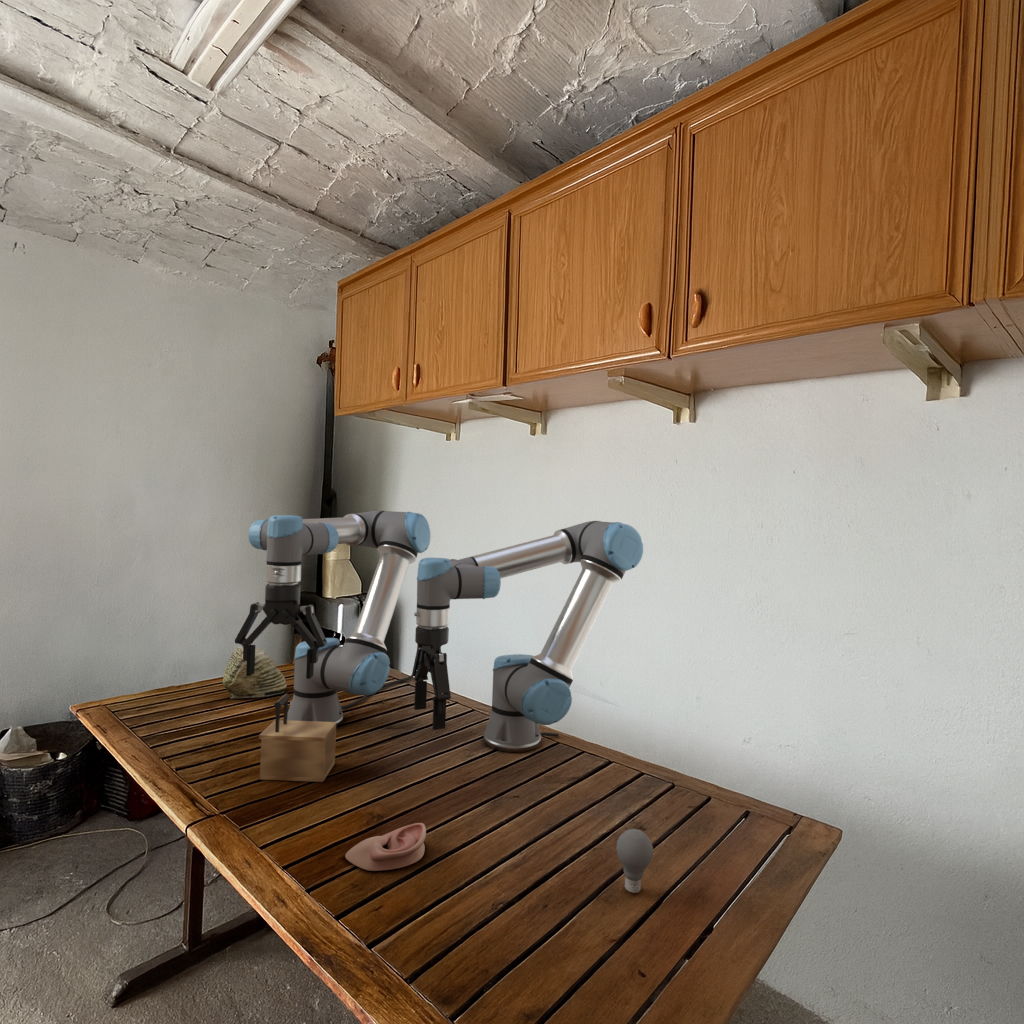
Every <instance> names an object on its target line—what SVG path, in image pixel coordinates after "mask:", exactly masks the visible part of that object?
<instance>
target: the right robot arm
mask: <svg viewBox="0 0 1024 1024" xmlns="http://www.w3.org/2000/svg"><path fill="white" fill-rule="evenodd" d="M643 554H644V543H643V541H642V536H641V535H640V533H639V532H638V530H637V529H636V528H634V527H633V526H632V525H630V524H626V523H623V522H620V521H614V522H612V521H602V520H589V521H585V522H581V523H578V524H574V525H571V526H567V527H564V528H561V529H558V530H557V529H556V530H555V532H553V534H552V535H549V536H548V535H547V536H544V537H541V538H537V539H533V540H529V541H525V542H521V543H518V544H514V545H510V546H507V547H503V548H499V549H498V548H497V549H495V550H491V551H487V552H482V553H479V554H476V555H472V556H466V557H463V558H460V559H455V558H451V559H450V558H445V557H424V558H421V559H420V560H419V561H418V564H417V565H418V566H417V577H416V611H414V613H413V615H414V617H415V619H416V620H415V624H416V627H415V637H414V642H415V644H417V645H416V652H415V658H414V662H413V668H412V673H411V675H413V680H414V703H413V709H414V710H415V711H419V710H420V711H421V710H426V709H427V695H428V694H427V693H428V680H429V676H428V675H429V673H430V678H431V682H432V683H431V684H432V688H433V693H434V696H433V697H432V698H431V700H432V703H433V704H432V727H431V728H432V730H433V731H436V730H443V729H444V730H445V729H446V723H447V722H446V718H447V700H451V698H452V696H451V688H450V679H449V671H448V655H447V653H446V652H443V651H442V646H445V645H447V644H448V643H449V637H450V636H449V634H450V629H449V627H448V626H449V625H450V618H451V617H450V616H451V614H450V613H451V608H450V607H451V600H477V599H479V600H480V599H481V600H485V599H493V598H496V597H497V596H498V595H499V594H500V590H501V586H502V585H501V583H502V580H501V579H503V578H504V579H505V578H508V577H512V576H516V575H518V574H519V575H520V574H522V573H526V572H530V571H534V570H538V569H540V568H545V567H548V566H551V565H555V564H559V563H561V564H562V565H569V564H573V563H580V566H581V571H580V573H579V575H578V577H577V579H576V581H575V583H574V585H573V587H572V589H571V591H570V593H569V595H568V598H567V599H566V601H565V603H564V605H563V607H562V609H561V611H560V614H559V615H558V617H557V619H556V621H555V622H554V623H555V624H554V625H553V628H552V629H551V631H550V634H549V635H548V637H547V640H546V641H545V643H544V646H543V647H542V649H541V651H540V653H539V654H537V655H531V654H524V653H523V654H519V653H516V654H503V655H499V656H497V657H495V658H494V661H493V668H492V696H491V697H492V698H491V713H490V715H489V718H488V721H487V724H486V726H485V729H484V732H483V742H484V744H485V745H486V746H487V747H488V748H491V749H493V750H496V751H499V752H500V751H501V752H506V753H525V752H530V751H533V750H535V749H537V748H539V747H540V746H541V744H542V737H543V736H544V737H556V738H558V737H559V733H558V732H557V733H556V732H544V731H541V730H540V726H550V725H553V724H555V723H558V722H560V721H561V720H563V719H564V717H566V715H567V714H568V712H569V711H570V709H571V706H572V702H573V697H572V691H571V688H570V687H571V685H572V684H573V681H574V676H573V672H572V669H573V667H574V665H575V663H576V661H577V660H578V657H579V655H580V653H581V651H582V648H583V647H584V645H585V642H586V640H587V638H588V636H589V634H590V632H591V630H592V628H593V626H594V624H595V621H596V620H597V617H598V616H599V613H600V611H601V609H602V607H603V605H604V603H605V601H606V599H607V597H608V595H609V593H610V591H611V588H612V586H613V585H615V584H617V583H621V582H622V580H623V578H624V575H625V574H626V572H627V571H630V570H632V569H634V568H636V567H637V566H638V565H639V564H640V562H641V560H642V559H643V556H644V555H643Z"/></svg>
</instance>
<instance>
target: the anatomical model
mask: <svg viewBox="0 0 1024 1024" xmlns="http://www.w3.org/2000/svg"><path fill="white" fill-rule="evenodd" d="M426 837H427V827H426V824H425V823H423V822H415V823H412V824H408V825H404V826H402V827H399V828H396V829H394V830H392V831H390V832H388V833H384V834H382V835H375V836H372V837H367V838H365V839H364V840H361V841H360V842H358V843H357V844H356V845H353V847H351V848H350V849H349V850H348V851H347V852H346V853H345V856H344V857H345V860H347V862H349V863H350V864H352V865H354V866H356V867H357V868H360V869H362V870H364V871H367V872H378V871H380V872H381V871H389V870H396V869H400V868H404V867H407V866H410V865H412V864H415V863H417V862H418V861H420V860H421V859H422V858H423V857H424V854H425V851H426V849H425V848H426V846H425V843H424V842H425V840H426Z"/></svg>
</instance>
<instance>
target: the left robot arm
mask: <svg viewBox="0 0 1024 1024" xmlns="http://www.w3.org/2000/svg"><path fill="white" fill-rule="evenodd" d="M247 536H248V543H249V544H250V546H252V547H253V548H254V549H256V550H262V551H266V565H265V581H266V585H265V586H264V587H265V589H264V591H265V592H264V604H262V603H260V602H258V601H257V602H254V603H251V604H250V606H249V613H248V615H247V617H246V619H245V621H244V622H243V624H242V626H241V628H240V630H239V632H238V633H237V635H236V637H235V639H234V643H235V644H238V645H240V646H241V647H243V660H247V669H246V676H251V675H252V674H254V672H255V649H256V644H253V643H254V642H255V641H256V640H257V638H258V637H259V636H260V635H261V634H262V633H263V632H264V631H265V630H266V628H267V627H268V626H269V625H270V624H273V625H280V624H281V625H283V626H287V625H291V627H293V628H294V629H295V630H296V631H297V633H298V634H299V635H300V636H301V638H302V639H303V640H304V641H302V642H299V643H298V644H297V645H296V647H295V652H294V653H295V654H294V657H293V659H294V660H293V662H294V663H293V665H294V667H293V695H292V696H293V697H292V699H291V701H290V700H289V701H290V702H289V706H288V714H287V720H292V721H318V722H336V728H337V727H339V726H340V725H342V723H343V722H344V714H343V710H344V709H347V708H350V707H353V706H355V705H357V704H359V703H361V702H363V701H364V700H365V699H367V698H368V697H370V696H372V695H375V694H376V693H377V692H379V691H380V690H382V689H383V688H386V687H389V686H391V685H394V684H397V683H402V682H405V681H409V680H411V679H413V678H414V676H413V675H412V674H411V675H410V676H407V677H403V678H400V679H395V680H393V681H390V682H387V680H388V678H389V675H390V671H391V666H390V665H391V661H390V658H389V655H387V651H388V649H387V646H386V643H385V639H386V636H387V634H388V631H389V628H390V625H391V621H392V619H393V615H394V612H395V608H396V605H397V602H398V600H399V597H400V594H401V590H402V587H403V584H404V582H405V578H406V575H407V572H408V569H409V565H410V564H413V563H415V562H416V561H417V557H418V554H422V553H425V552H426V551H427V550H428V549H429V546H430V543H431V528H430V523H429V521H428V519H427V518H426V517H425V516H424V515H423V514H422V513H419V512H412V511H392V510H391V511H390V510H372V511H364V512H357V513H347V514H345V515H343V517H324V518H303V517H302V516H300V515H285V514H283V515H282V514H274V515H271V516H270V517H269V518H268V519H257V520H255V521H254V522H252V524H251V525H250V527H249V528H248V534H247ZM342 544H343V545H347V546H349V547H365V548H372V549H377V552H378V554H379V555H380V557H379V559H378V562H377V565H376V568H375V571H374V574H373V576H372V579H371V582H370V585H369V588H368V591H367V594H366V597H365V599H364V602H363V606H362V608H361V611H360V613H359V617H358V620H357V623H356V625H355V628H354V631H353V633H352V634H350V635H348V636H347V637H346V638H345V640H344V643H343V645H342V646H341V645H340V644H341V643H340V640H339V638H336V637H326V636H325V634H324V632H323V630H322V627H321V625H320V622H319V621H318V619H317V616H316V614H315V606H314V604H309V605H301V584H300V582H301V580H302V559H303V558H302V556H310V555H311V556H312V555H324V554H329V553H331V552H333V551H335V549H336V548H337V547H338V545H342ZM262 611H263V612H264V614H265V615H266V616H265V617H264V619H262V621H261V622H260V623H259V625H257V626H256V628H255V629H254V630H253V631H252V632H251V633H250V634H249V632H250V630H251V628H252V626H253V625H254V623H255V621H256V619H257V617H258V616H259V614H260V613H262ZM301 613H302V614H303V615H304V616H305V618H306V621H307V623H308V625H309V627H310V629H311V632H312V633H311V632H310V630H309V629H308V627H307V626H306V625H305V624H304V622H303V620H302V619H301V618H300V616H299V615H300V614H301ZM248 634H249V635H248ZM247 636H248V637H247ZM246 637H247V638H246ZM386 682H387V683H386ZM338 692H343V693H349V694H352V695H353V696H354V695H355V696H362V697H361V698H359V699H356V700H355V701H353V702H350V703H348V704H344V705H341V702H340V699H339V695H338Z"/></svg>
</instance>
